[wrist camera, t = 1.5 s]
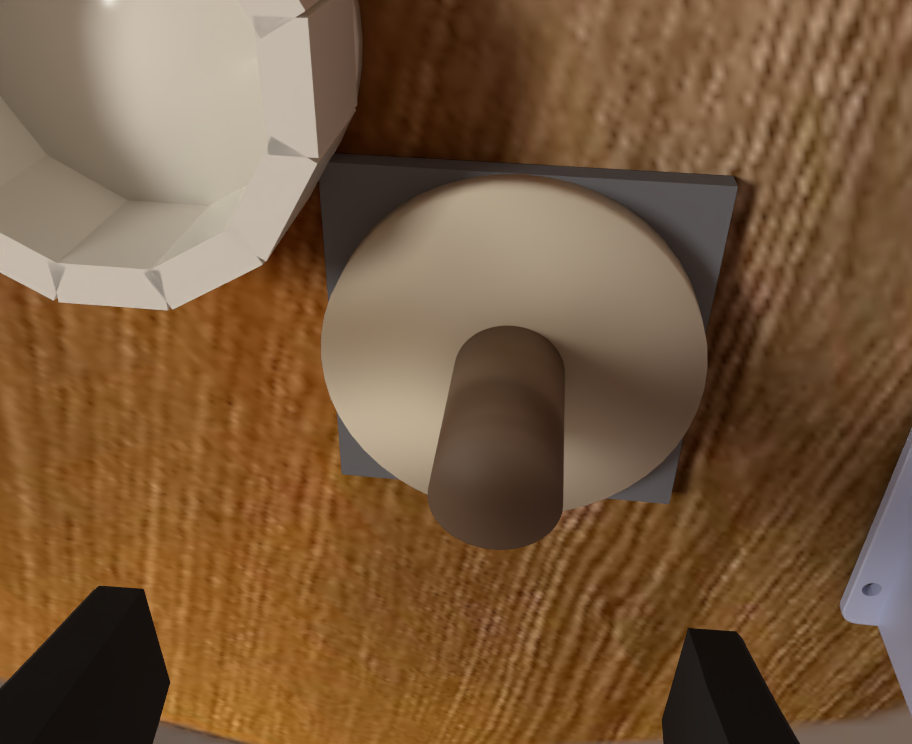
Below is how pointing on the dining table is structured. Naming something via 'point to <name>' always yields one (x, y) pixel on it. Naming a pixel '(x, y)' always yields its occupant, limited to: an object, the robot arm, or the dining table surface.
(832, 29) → the dining table surface
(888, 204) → the dining table surface
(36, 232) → the bowl
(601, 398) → the lid
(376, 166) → the mat
